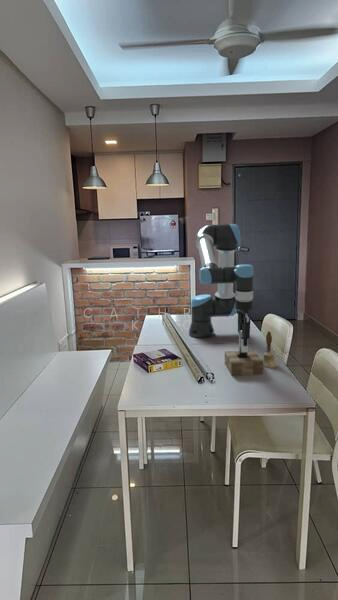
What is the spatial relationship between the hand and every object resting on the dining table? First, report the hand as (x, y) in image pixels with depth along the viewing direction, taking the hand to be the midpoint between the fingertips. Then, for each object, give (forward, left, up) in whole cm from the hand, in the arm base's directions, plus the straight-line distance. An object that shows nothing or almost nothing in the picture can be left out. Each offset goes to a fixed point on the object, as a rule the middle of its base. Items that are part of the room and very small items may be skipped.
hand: (243, 350), depth 166 cm
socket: (0, 0, -9) cm, 9 cm away
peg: (0, 0, -3) cm, 3 cm away
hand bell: (-3, +13, -9) cm, 16 cm away
